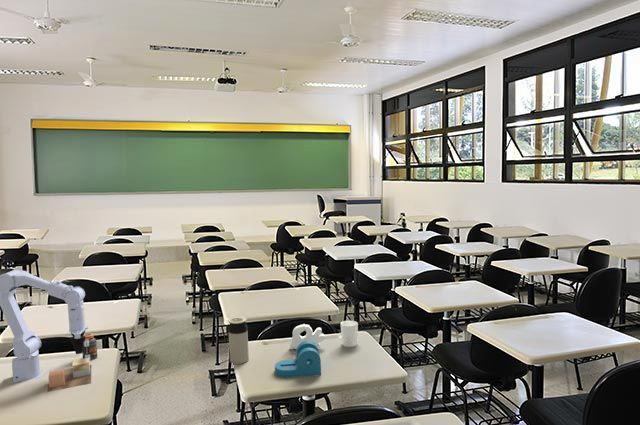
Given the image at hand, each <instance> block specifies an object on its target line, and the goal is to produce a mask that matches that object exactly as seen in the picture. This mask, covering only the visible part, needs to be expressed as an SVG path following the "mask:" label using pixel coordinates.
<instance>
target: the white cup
mask: <svg viewBox="0 0 640 425" xmlns="http://www.w3.org/2000/svg"><path fill="white" fill-rule="evenodd" d="M358 331H359V323H358V322H357V321H355V320H343V321H341V322H340V332H341V333H340V336H341V342H342V346H343V347H347V348H353V347H356V346H357V345H358V338H359V337H358V335H359V334H358Z"/></svg>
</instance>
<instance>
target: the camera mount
mask: <svg viewBox="0 0 640 425" xmlns="http://www.w3.org/2000/svg"><path fill="white" fill-rule="evenodd" d="M295 350H296V352H295V353H296V357H295V358H292V359H283V360H279V361H277V362H276V363H275V364H274V373H275V376H277V377H280V378H286V379H287V378H299V377H300V378H301V377H312V376H313V377H314V376H321V375H322V360H321V359H322V358H321V356H320V352H319V349H318V348H317V346H316V344H315V343H313V342H311V341H304V342H302V343H300V344H299V345H298V347H297V349H295Z"/></svg>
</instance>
